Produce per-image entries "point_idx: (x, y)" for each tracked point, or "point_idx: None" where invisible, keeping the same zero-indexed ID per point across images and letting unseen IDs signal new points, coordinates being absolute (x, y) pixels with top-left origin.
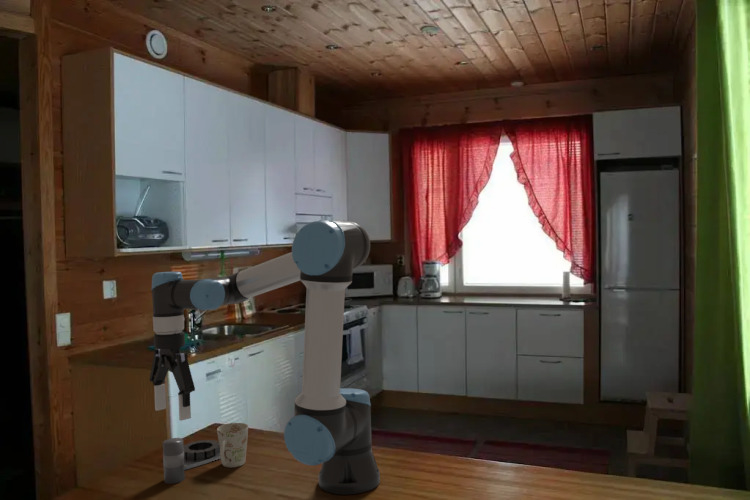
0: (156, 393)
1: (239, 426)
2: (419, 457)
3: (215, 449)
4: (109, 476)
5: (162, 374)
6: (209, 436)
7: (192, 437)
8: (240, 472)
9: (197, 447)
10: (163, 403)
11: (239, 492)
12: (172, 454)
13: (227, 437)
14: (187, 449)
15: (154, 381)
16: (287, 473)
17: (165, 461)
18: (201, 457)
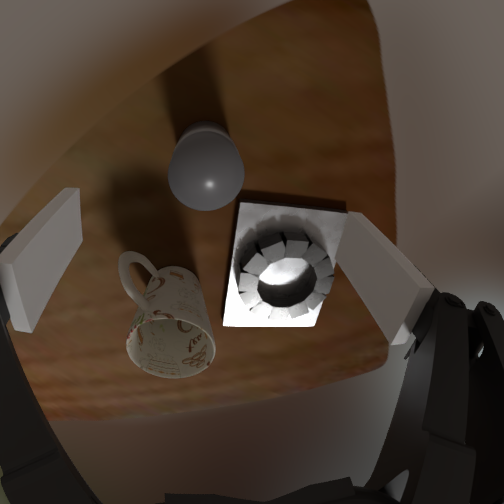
0: (392, 263)
1: (189, 367)
2: None
3: (239, 294)
4: (375, 75)
5: (412, 388)
6: (358, 334)
7: None
8: (115, 266)
9: (310, 284)
10: (349, 262)
11: (24, 203)
12: (178, 145)
13: (143, 313)
14: (299, 254)
15: (450, 310)
16: (49, 310)
17: (202, 128)
18: (246, 255)
